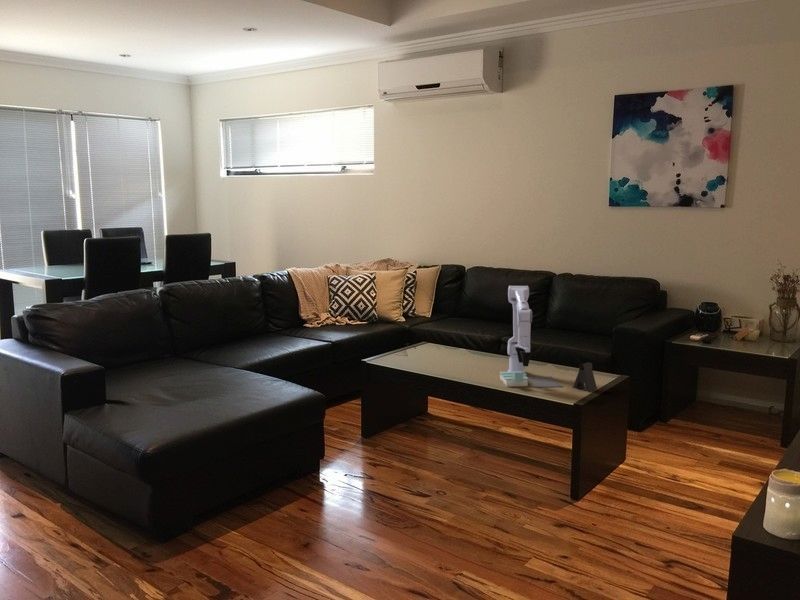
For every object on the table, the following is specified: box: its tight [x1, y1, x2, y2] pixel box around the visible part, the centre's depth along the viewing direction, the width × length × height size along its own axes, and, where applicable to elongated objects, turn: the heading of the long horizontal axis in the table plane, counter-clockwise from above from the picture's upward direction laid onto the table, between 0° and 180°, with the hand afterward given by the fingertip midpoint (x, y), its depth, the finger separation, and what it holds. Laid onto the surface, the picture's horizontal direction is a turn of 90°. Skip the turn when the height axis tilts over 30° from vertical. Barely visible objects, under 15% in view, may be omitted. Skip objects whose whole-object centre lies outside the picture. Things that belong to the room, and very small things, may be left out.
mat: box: [526, 375, 564, 389], centre depth 321 cm, size 18×13×1 cm
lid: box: [498, 371, 528, 382], centre depth 318 cm, size 17×11×4 cm, turn 4°
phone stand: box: [572, 361, 598, 393], centre depth 309 cm, size 9×6×12 cm, turn 40°
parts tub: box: [499, 373, 529, 387], centre depth 320 cm, size 13×10×3 cm
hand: (523, 364), depth 314 cm, fingers open, 7 cm apart
